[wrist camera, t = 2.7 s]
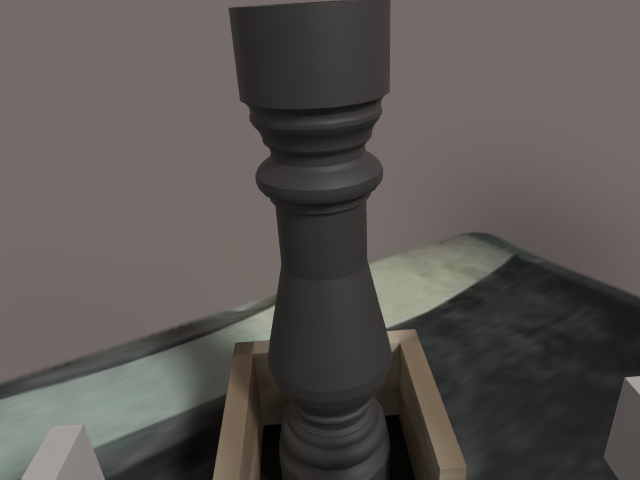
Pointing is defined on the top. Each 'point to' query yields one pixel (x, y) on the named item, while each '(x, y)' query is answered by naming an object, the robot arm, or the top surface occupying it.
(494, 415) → the top surface
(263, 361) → the birch crate
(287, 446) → the candle holder
